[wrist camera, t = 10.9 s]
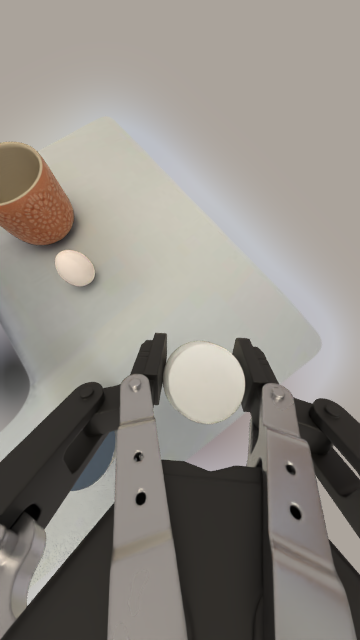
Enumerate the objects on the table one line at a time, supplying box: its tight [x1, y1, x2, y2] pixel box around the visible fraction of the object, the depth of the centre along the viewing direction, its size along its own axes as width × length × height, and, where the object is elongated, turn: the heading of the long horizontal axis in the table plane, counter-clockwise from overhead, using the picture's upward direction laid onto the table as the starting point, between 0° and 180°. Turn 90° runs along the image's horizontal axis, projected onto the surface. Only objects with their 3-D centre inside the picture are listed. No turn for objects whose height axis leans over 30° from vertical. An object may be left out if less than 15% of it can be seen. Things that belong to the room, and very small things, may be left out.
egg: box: [55, 250, 95, 286], centre depth 31 cm, size 5×5×7 cm
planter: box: [0, 142, 74, 245], centre depth 32 cm, size 12×12×11 cm
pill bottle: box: [163, 341, 245, 424], centre depth 12 cm, size 4×4×8 cm
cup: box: [70, 430, 117, 491], centre depth 24 cm, size 9×9×9 cm
